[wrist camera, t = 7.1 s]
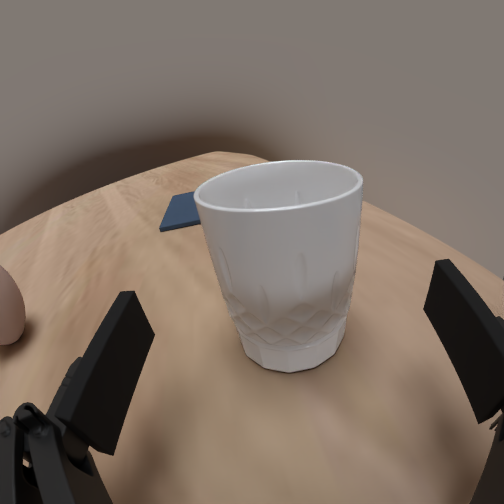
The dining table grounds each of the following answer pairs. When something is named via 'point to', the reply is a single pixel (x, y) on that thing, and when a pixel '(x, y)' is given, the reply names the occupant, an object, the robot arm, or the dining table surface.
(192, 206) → the glassware mat
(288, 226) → the white cup
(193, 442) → the dining table surface
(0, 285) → the egg
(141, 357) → the robot arm
